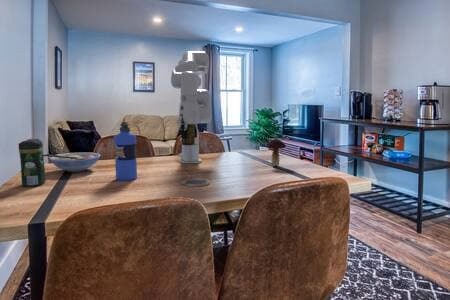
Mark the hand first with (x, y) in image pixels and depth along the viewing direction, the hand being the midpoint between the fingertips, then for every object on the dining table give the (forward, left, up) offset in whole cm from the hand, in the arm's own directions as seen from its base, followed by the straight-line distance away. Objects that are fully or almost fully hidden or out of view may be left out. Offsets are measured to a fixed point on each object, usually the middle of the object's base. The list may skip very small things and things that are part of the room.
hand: (189, 137), depth 153 cm
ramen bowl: (-49, -28, -18) cm, 59 cm away
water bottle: (-16, -24, -18) cm, 34 cm away
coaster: (+14, -12, -17) cm, 25 cm away
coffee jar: (-38, -53, -18) cm, 68 cm away
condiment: (0, -1, -3) cm, 3 cm away
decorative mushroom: (+25, +41, -17) cm, 51 cm away
